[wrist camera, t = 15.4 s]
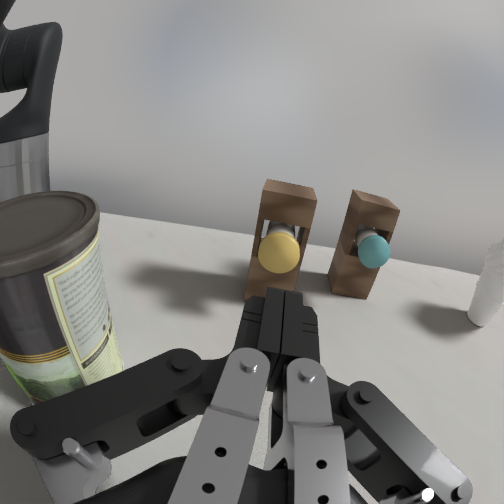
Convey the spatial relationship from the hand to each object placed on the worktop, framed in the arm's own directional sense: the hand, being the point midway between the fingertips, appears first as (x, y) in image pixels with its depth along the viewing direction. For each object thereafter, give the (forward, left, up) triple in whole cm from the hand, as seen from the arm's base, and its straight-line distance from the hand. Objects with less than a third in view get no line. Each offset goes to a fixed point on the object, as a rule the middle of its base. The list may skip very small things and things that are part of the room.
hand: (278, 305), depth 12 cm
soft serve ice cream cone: (+36, +20, -13) cm, 43 cm away
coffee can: (-15, 0, -13) cm, 19 cm away
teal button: (+11, +21, -6) cm, 25 cm away
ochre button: (0, +16, -6) cm, 18 cm away
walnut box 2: (+11, +23, -12) cm, 29 cm away
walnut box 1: (0, +18, -12) cm, 22 cm away
